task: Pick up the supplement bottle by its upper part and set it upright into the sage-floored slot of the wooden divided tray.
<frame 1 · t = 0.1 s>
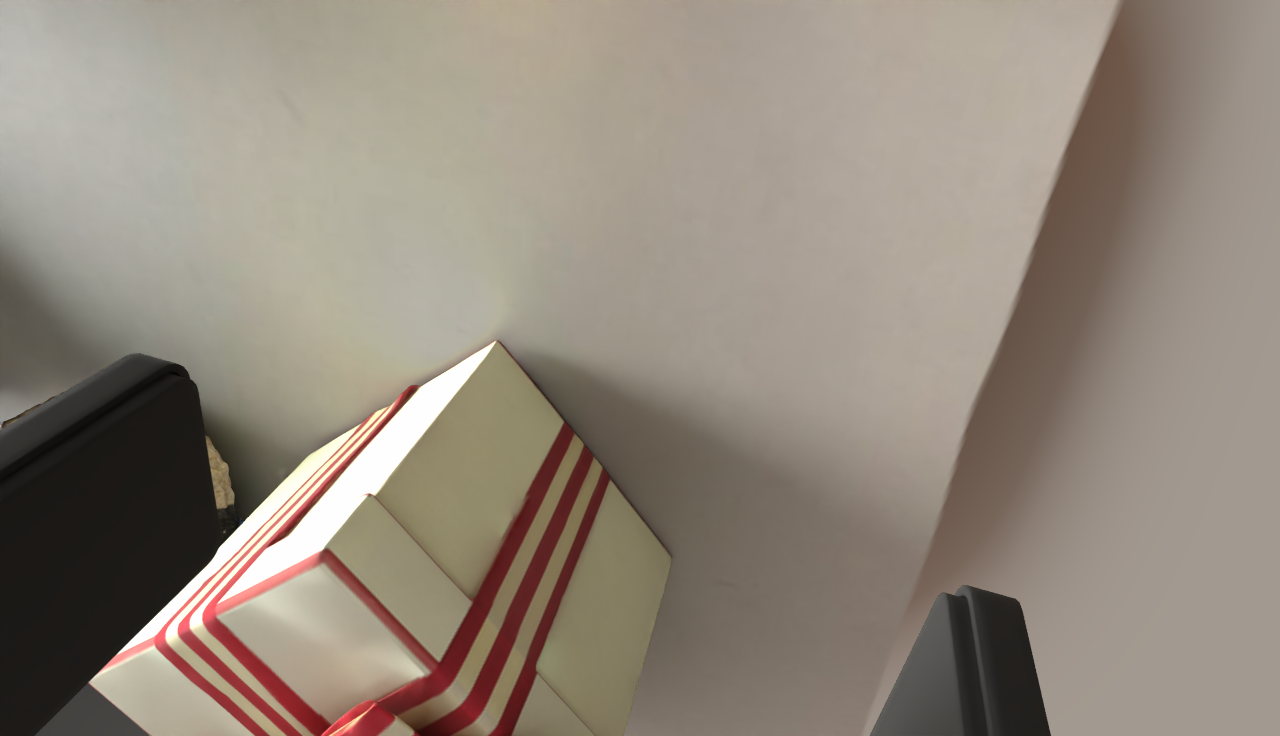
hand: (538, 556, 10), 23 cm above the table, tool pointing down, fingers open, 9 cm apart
mineral specimen: (176, 494, 48), on the table
gift box: (517, 514, 42), on the table
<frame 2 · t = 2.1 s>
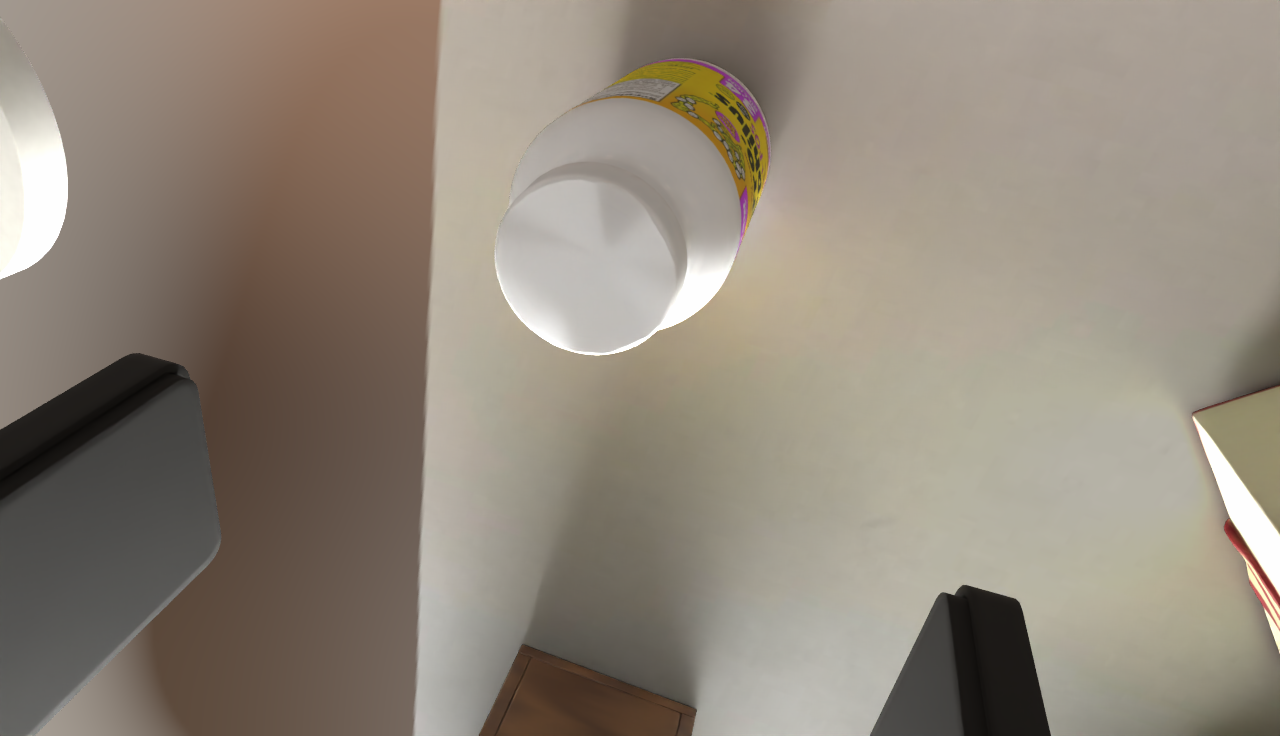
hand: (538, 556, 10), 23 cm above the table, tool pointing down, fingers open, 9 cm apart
supplement bottle: (686, 145, 31), on the table
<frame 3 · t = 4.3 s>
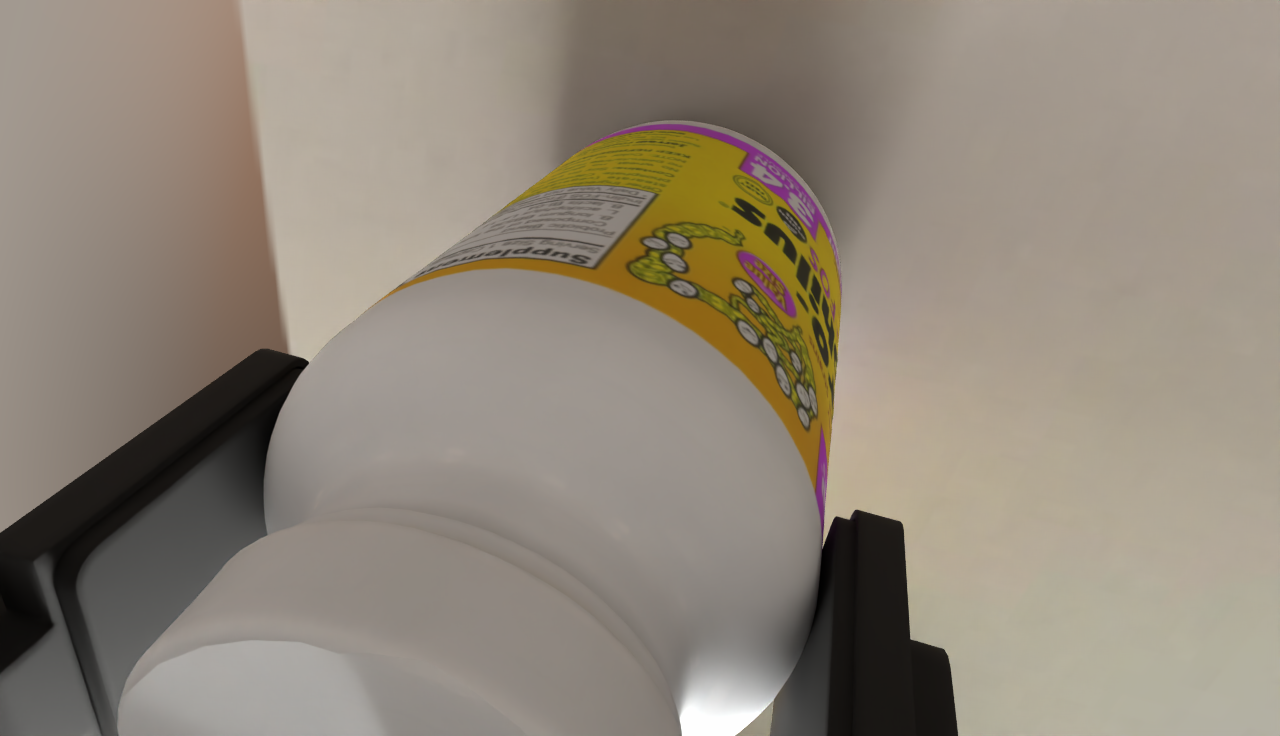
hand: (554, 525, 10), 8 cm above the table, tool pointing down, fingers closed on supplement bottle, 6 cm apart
supplement bottle: (686, 265, 17), on the table, touching gripper
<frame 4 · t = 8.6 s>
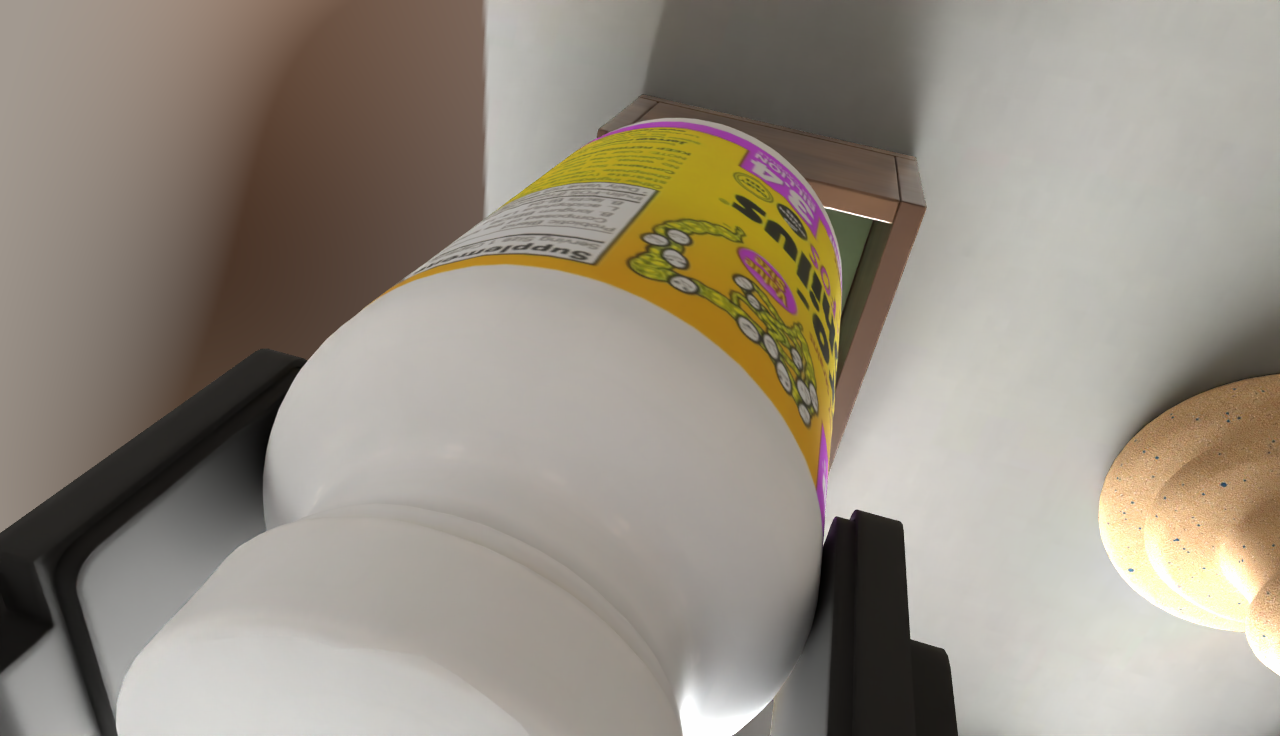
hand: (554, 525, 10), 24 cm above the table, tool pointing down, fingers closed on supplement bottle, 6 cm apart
candle holder: (1262, 497, 33), on the table
wooden divided tray: (718, 354, 36), on the table
supplement bottle: (687, 263, 17), point 15 cm above the table, touching gripper
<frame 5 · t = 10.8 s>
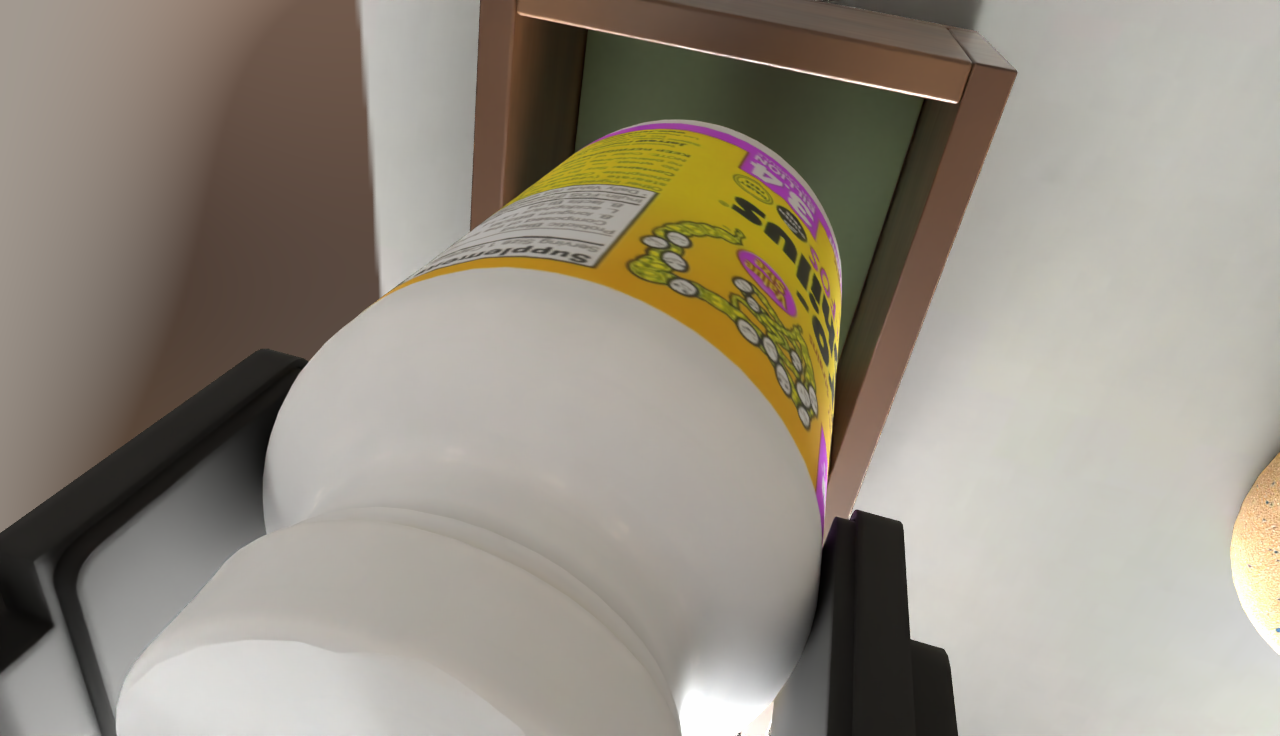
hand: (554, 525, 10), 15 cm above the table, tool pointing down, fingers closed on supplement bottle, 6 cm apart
wooden divided tray: (695, 335, 26), on the table
supplement bottle: (686, 264, 17), point 7 cm above the table, touching gripper
when the fingers open (9 cm above the table, at t = 12.8 s): supplement bottle stays where it is, resting on wooden divided tray.
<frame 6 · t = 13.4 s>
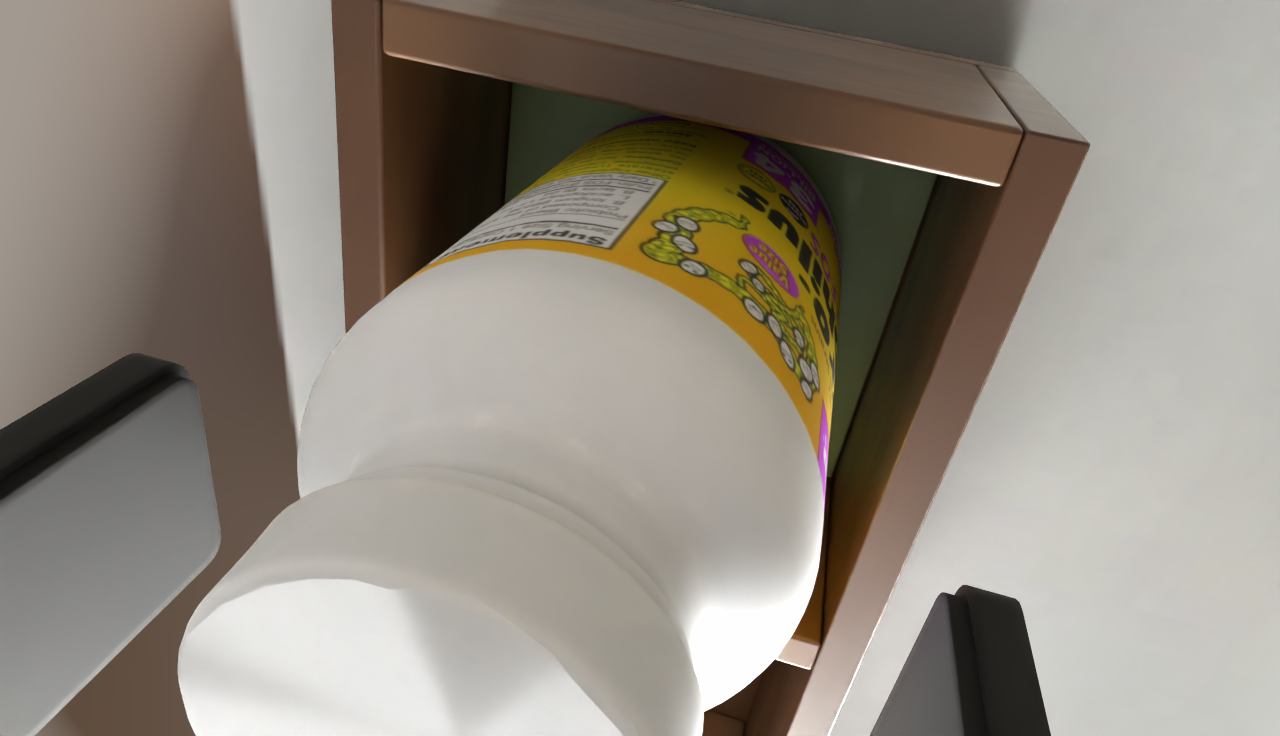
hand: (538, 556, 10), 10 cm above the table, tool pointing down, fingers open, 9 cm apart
wooden divided tray: (660, 428, 21), on the table
supplement bottle: (691, 253, 18), point 1 cm above the table, touching wooden divided tray
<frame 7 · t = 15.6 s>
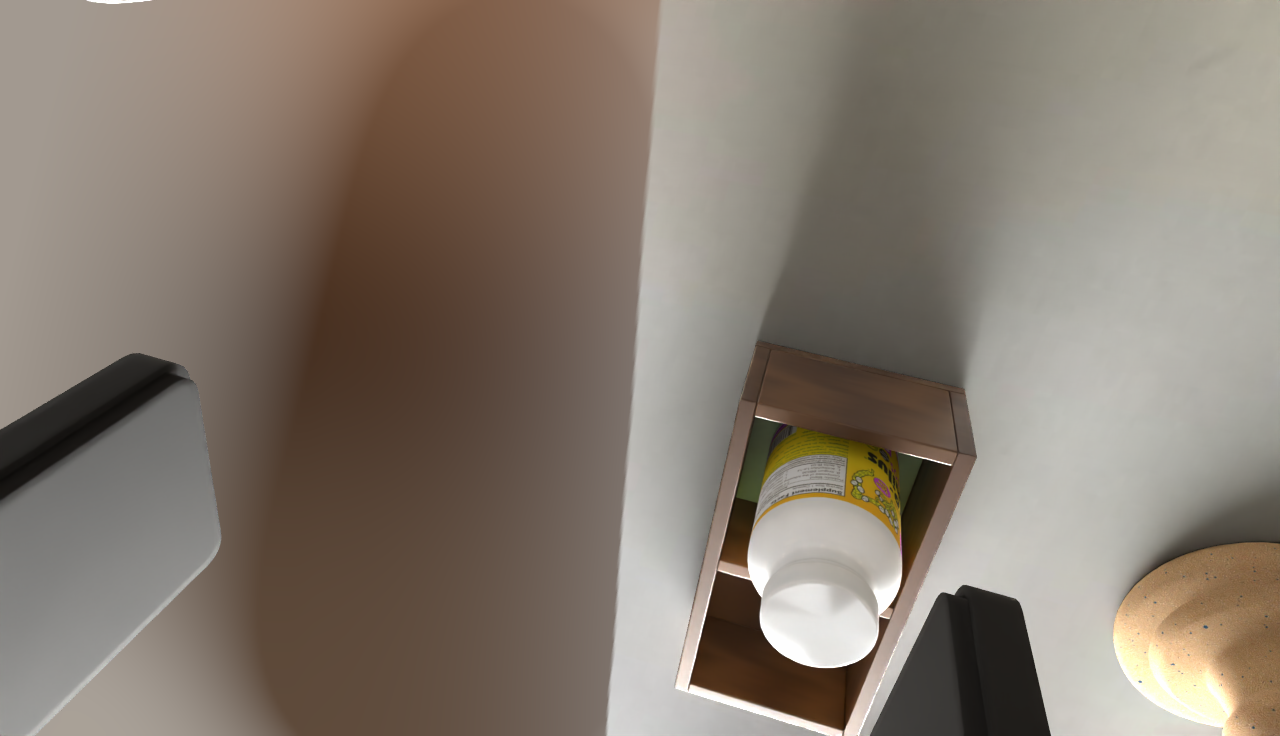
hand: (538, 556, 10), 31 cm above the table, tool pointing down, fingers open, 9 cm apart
candle holder: (1240, 627, 43), on the table
wooden divided tray: (812, 515, 46), on the table
supplement bottle: (833, 447, 43), point 1 cm above the table, touching wooden divided tray
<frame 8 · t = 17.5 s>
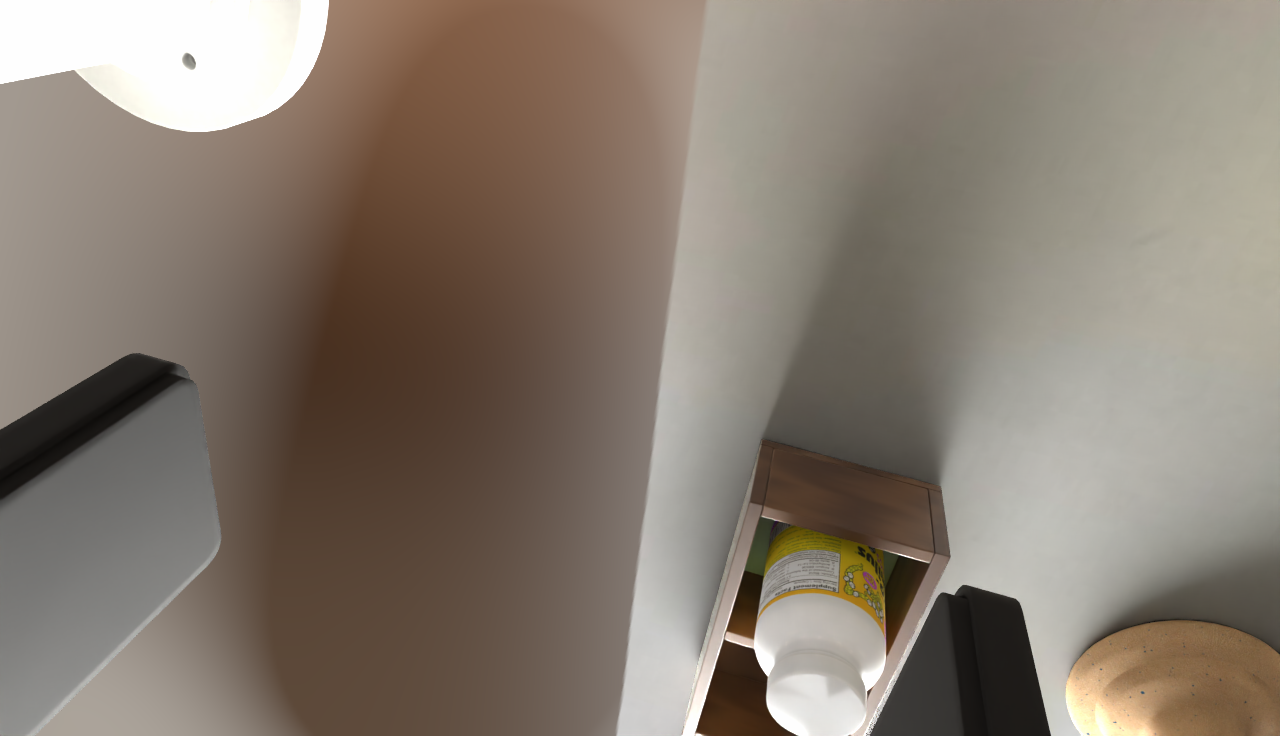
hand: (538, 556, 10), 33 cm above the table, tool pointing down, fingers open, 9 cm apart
candle holder: (1174, 688, 50), on the table
wooden divided tray: (805, 584, 52), on the table
supplement bottle: (826, 530, 49), point 1 cm above the table, touching wooden divided tray
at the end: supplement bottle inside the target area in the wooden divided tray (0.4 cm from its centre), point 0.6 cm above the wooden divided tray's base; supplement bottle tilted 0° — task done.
